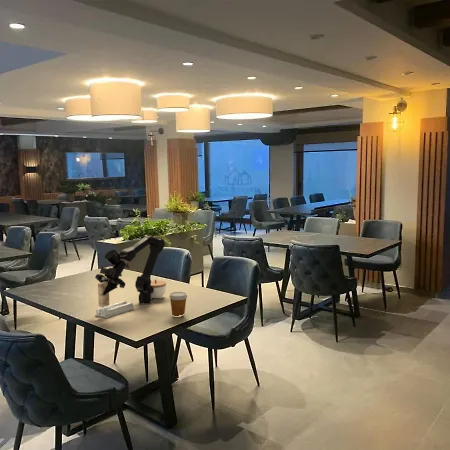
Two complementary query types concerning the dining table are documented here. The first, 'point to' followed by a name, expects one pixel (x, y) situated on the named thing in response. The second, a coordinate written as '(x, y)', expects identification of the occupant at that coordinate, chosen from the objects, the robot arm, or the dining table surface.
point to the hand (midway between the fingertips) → (101, 294)
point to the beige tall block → (103, 298)
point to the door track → (114, 309)
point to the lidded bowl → (158, 288)
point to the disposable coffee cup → (178, 303)
